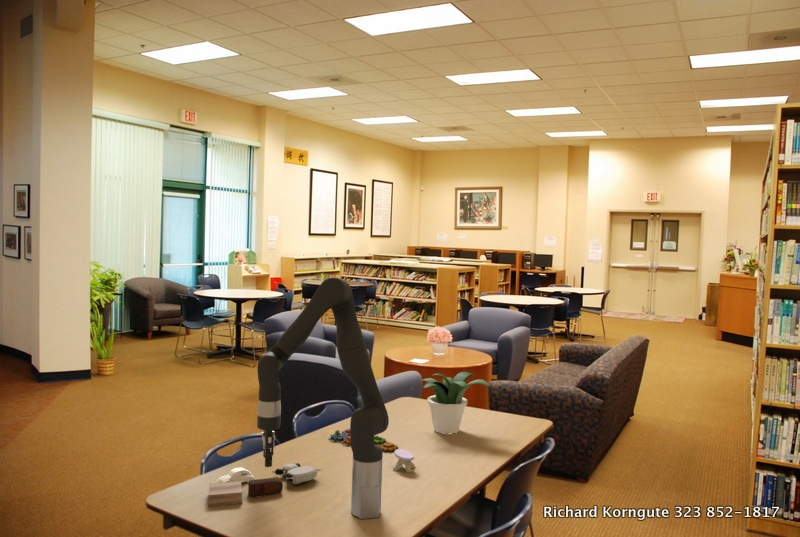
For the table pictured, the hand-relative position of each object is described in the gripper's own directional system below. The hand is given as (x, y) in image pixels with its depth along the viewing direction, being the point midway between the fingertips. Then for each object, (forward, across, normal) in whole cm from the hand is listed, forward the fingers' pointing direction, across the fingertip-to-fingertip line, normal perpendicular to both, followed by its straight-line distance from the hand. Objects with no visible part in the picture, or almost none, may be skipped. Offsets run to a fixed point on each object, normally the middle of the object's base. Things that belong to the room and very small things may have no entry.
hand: (267, 461), depth 198 cm
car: (+12, +12, +10) cm, 20 cm away
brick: (+11, +1, 0) cm, 11 cm away
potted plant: (+11, +53, -85) cm, 101 cm away
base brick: (+11, -1, +13) cm, 17 cm away
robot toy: (+12, +12, -11) cm, 20 cm away
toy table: (+11, +14, -51) cm, 54 cm away
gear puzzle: (+12, +44, -43) cm, 62 cm away
